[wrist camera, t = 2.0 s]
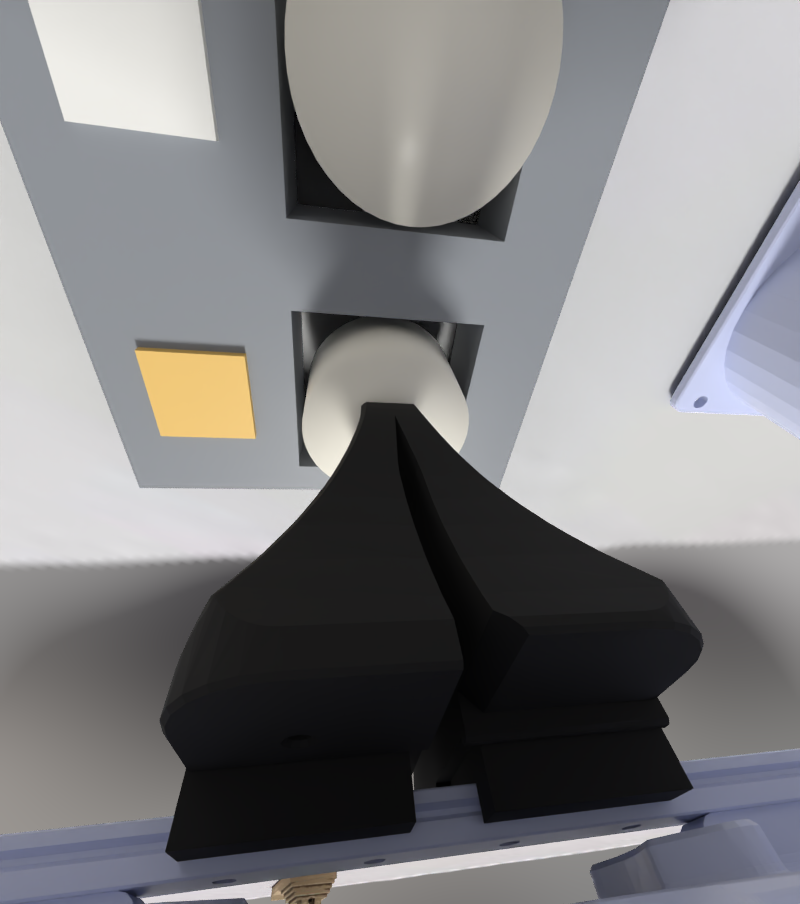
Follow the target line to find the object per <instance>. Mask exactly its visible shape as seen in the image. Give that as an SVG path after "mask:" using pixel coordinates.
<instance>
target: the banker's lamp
mask: <svg viewBox="0 0 800 904" xmlns="http://www.w3.org/2000/svg"><path fill="white" fill-rule="evenodd" d="M336 878H337V872H330V873H323V874H316V875H308V876H301V877H294V878H286V879H281V880H280V881H279V882H278V883H277V884H276V885H275V886H274V887H273V888H272V895H271V901H274V900H283V899H286V903H289V904H321V900H323V899H324V898H326V897H327V894H328V893H329V892H330V888H332V884H333V883H334V879H336Z"/></svg>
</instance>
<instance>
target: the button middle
mask: <svg viewBox="0 0 800 904" xmlns="http://www.w3.org/2000/svg"><path fill="white" fill-rule="evenodd" d="M562 46H563V6H562V0H287V3H286V13H285V56H286V67H287V75H288V80H289V86H290V91H291V96H292V100H293V104H294V107H295V110H296V114H297V117H298V121H299V123H300V126H301V128H302V131H303V133H304V135H305V138H306V140H307V143H308V144H309V146H310V148H311V150H312V152H313V154H314V156H315V158H316V160H317V161H318V163H319V164H320V166H321V167H322V168H323V170H324V171H325V173H326V174H327V176H328V177H329V178H330V179H331V181H332V182H333V183H334V184H335V185H336V186H337V188H338V189H339V190H340V191H341V192H342V193H343V194H344V195H345V196H347V197H348V198H349V199H350V200H351V201H352V202H353V203H355V204H356V205H357V206H359V207H360V208H362V209H363V210H365V211H366V212H368V213H370V214H372V215H374V216H376V217H378V218H379V219H382V220H385V221H388V222H391V223H393V224H398V225H403V226H408V227H431V226H439V225H443V224H447V223H450V222H454V221H456V220H459V219H461V218H463V217H466V216H468V215H470V214H471V213H473V212H475V211H476V210H478V209H480V208H481V207H483V206H484V205H485V204H487V203H488V202H489V201H490V200H492V199H493V198H494V197H495V196H497V195H498V194H499V193H500V192H501V191H502V190H503V189H504V188H505V187H506V186H507V185H508V183H509V182H510V181H511V180H512V179H513V177H514V176H515V175H516V174H517V172H518V171H519V170H520V168H521V167H522V165H523V164H524V162H525V161H526V159H527V158H528V156H529V155H530V153H531V151H532V149H533V147H534V145H535V143H536V141H537V140H538V138H539V136H540V133H541V131H542V129H543V126H544V124H545V121H546V119H547V116H548V114H549V110H550V107H551V104H552V100H553V97H554V94H555V90H556V85H557V80H558V75H559V70H560V63H561V54H562Z"/></svg>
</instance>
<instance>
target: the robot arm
mask: <svg viewBox="0 0 800 904" xmlns="http://www.w3.org/2000/svg"><path fill="white" fill-rule="evenodd" d="M697 399H698V400H697ZM670 404H671V406H672V407H673V408H675V409H676V410H677V411H679V412H692V413H714V414H737V415H760V416H765V417H766V418H768V419H769V420H771V421H772V422H774V423H775V424H777V425H778V426H780V427H781V428H783V429H784V430H786V431H787V432H789V433H790V434H792V435H794V436H795V437H797V438H798V439H800V181H799V182H798V184H797V186H796V187H795V189H794V191H793V192H792V194H791V196H790V198H789V199H788V201H787V203H786V204H785V206H784V208H783V209H782V211H781V213H780V214H779V216H778V218H777V220H776V221H775V223H774V225H773V226H772V228H771V230H770V231H769V233H768V235H767V236H766V238H765V240H764V242H763V243H762V245H761V247H760V248H759V250H758V252H757V253H756V255H755V257H754V258H753V260H752V262H751V264H750V265H749V267H748V269H747V270H746V272H745V274H744V275H743V277H742V279H741V280H740V282H739V284H738V285H737V287H736V289H735V291H734V292H733V294H732V296H731V297H730V299H729V301H728V302H727V304H726V306H725V307H724V309H723V311H722V313H721V314H720V316H719V318H718V319H717V321H716V323H715V324H714V326H713V328H712V329H711V331H710V333H709V335H708V336H707V338H706V340H705V341H704V343H703V345H702V346H701V348H700V350H699V351H698V353H697V355H696V357H695V358H694V360H693V362H692V363H691V365H690V367H689V368H688V370H687V372H686V373H685V375H684V377H683V378H682V380H681V382H680V384H679V385H678V387H677V389H676V390H675V392H674V394H673V395H672V397H671V400H670ZM702 647H703V639H702V635H701V633H700V631H699V630H698V629H697V627H696V626H695V624H694V623H693V622H692V620H691V619H690V618H689V616H688V615H687V613H686V612H685V611H684V609H683V608H682V606H681V605H680V604H679V602H678V601H677V600H676V598H675V597H674V595H673V594H672V593H671V591H670V590H669V588H668V587H667V586H666V584H665V583H664V582H663V581H662V580H660V579H658V578H656V577H654V576H652V575H650V574H647V573H645V572H643V571H641V570H639V569H637V568H635V567H632V566H630V565H628V564H626V563H624V562H622V561H619V560H617V559H615V558H613V557H611V556H609V555H606V554H604V553H602V552H600V551H598V550H596V549H595V548H593V547H591V546H589V545H587V544H585V543H583V542H582V541H580V540H578V539H576V538H574V537H572V536H571V535H569V534H567V533H565V532H563V531H562V530H560V529H558V528H557V527H555V526H553V525H551V524H550V523H548V522H547V521H545V520H543V519H542V518H540V517H539V516H537V515H536V514H534V513H533V512H531V511H530V510H528V509H526V508H525V507H523V506H522V505H520V504H519V503H518V502H516V501H515V500H513V499H512V498H510V497H509V496H508V495H506V494H505V493H504V492H503V491H501V490H500V489H499V488H497V487H496V486H495V485H494V484H492V483H491V482H490V481H488V480H487V479H486V478H485V477H484V476H482V475H481V474H480V473H479V472H478V471H477V470H476V469H474V468H473V467H472V466H471V465H470V464H469V463H468V462H467V461H466V460H465V459H464V458H463V457H461V456H460V455H459V454H458V453H457V452H456V451H455V450H454V449H453V448H452V446H451V445H450V444H449V443H448V442H447V441H446V440H445V439H444V438H443V437H442V436H441V435H440V434H439V433H438V431H437V430H436V429H435V428H434V427H433V426H432V425H431V423H430V422H429V421H428V420H427V419H426V418H425V416H424V415H423V414H422V413H421V412H420V411H419V409H418V408H417V407H416V406H415V405H414V404H404V403H380V402H365V403H364V404H363V405H361V415H360V419H359V422H358V425H357V428H356V431H355V433H354V435H353V437H352V440H351V442H350V444H349V446H348V448H347V450H346V452H345V454H344V456H343V457H342V459H341V461H340V463H339V464H338V466H337V468H336V469H335V471H334V472H333V474H332V476H331V477H330V479H329V480H328V481H327V483H326V484H325V486H324V487H323V488H322V490H321V491H320V492H319V494H318V495H317V496H316V498H315V499H314V500H313V501H312V502H311V504H310V505H309V506H308V507H307V508H306V510H305V511H304V512H303V513H302V514H301V515H300V517H299V518H298V519H297V520H296V521H295V522H294V523H293V524H292V525H291V526H290V527H289V528H288V529H287V530H286V531H285V532H284V533H283V534H282V535H281V536H280V537H279V538H278V539H277V540H276V541H275V542H274V543H273V544H272V545H271V546H270V547H269V548H268V549H267V550H266V551H265V552H264V553H262V554H261V555H260V556H259V557H258V558H257V559H256V560H255V561H253V562H252V563H251V564H250V565H249V566H247V567H246V568H245V569H244V570H242V571H241V572H240V573H239V574H237V575H236V576H235V577H234V578H233V579H231V580H230V581H229V582H228V583H226V584H225V585H224V586H223V587H222V588H220V589H219V590H218V591H217V592H215V593H214V594H213V595H212V596H211V597H210V599H209V601H208V602H207V604H206V606H205V608H204V610H203V611H202V613H201V615H200V617H199V619H198V621H197V622H196V624H195V627H194V628H193V630H192V632H191V635H190V637H189V639H188V641H187V643H186V645H185V648H184V650H183V652H182V654H181V656H180V659H179V662H178V664H177V667H176V670H175V673H174V676H173V679H172V682H171V686H170V689H169V692H168V695H167V698H166V701H165V705H164V708H163V711H162V714H161V718H160V724H161V728H162V731H163V734H164V735H165V737H166V738H167V740H168V741H169V743H170V744H171V746H172V747H173V749H174V750H175V752H176V753H177V755H178V756H179V758H180V759H181V761H182V762H183V764H184V765H185V767H186V771H185V776H184V779H183V783H182V787H181V791H180V795H179V799H178V803H177V806H176V811H175V815H174V816H168V817H160V818H151V819H141V820H131V821H122V822H114V823H103V824H95V825H85V826H76V827H67V828H58V829H48V830H38V831H30V832H20V833H11V834H1V835H0V904H145V903H144V902H143V901H142V900H141V899H140V898H146V897H153V896H161V895H168V894H175V893H183V892H190V891H198V890H205V889H212V888H220V887H227V886H234V885H242V884H249V883H257V882H264V881H271V880H279V879H286V878H294V877H301V876H308V875H316V874H323V873H330V872H338V871H345V870H353V869H360V868H367V867H375V866H382V865H390V864H397V863H404V862H412V861H419V860H427V859H434V858H441V857H449V856H456V855H463V854H471V853H478V852H486V851H493V850H500V849H508V848H515V847H523V846H530V845H537V844H545V843H552V842H560V841H567V840H574V839H582V838H589V837H596V836H604V835H611V834H619V833H626V832H633V831H641V830H648V829H656V828H663V827H670V826H678V825H683V826H682V829H681V832H680V833H676V834H671V835H667V836H663V837H658V838H654V839H650V840H647V841H645V842H644V843H642V844H641V845H640V846H638V847H637V848H636V849H633V850H631V851H629V852H627V853H625V854H622V855H620V856H618V857H615V858H612V859H609V860H606V861H603V862H600V863H597V864H594V865H592V867H591V870H590V873H591V877H592V880H593V883H594V885H595V889H596V892H597V895H598V898H599V899H597V900H592V901H585V902H579V903H573V904H800V748H799V749H789V750H780V751H771V752H762V753H752V754H743V755H734V756H725V757H715V758H706V759H696V760H687V761H679V760H678V758H677V756H676V754H675V753H674V751H673V749H672V747H671V745H670V743H669V741H668V740H667V738H666V736H665V734H664V732H663V730H662V728H665V727H666V726H668V725H669V717H668V715H667V714H666V712H665V710H664V708H663V707H662V705H661V703H660V701H659V699H658V698H657V697H658V696H659V695H660V694H661V693H662V692H664V691H665V690H666V689H667V688H668V687H669V686H671V685H672V684H673V683H674V682H675V681H676V680H678V679H679V678H680V677H681V676H682V675H683V674H684V673H686V672H687V671H688V670H689V669H690V668H691V666H693V665H694V663H695V662H696V661H697V660H698V658H699V656H700V653H701V651H702ZM412 773H414V790H413V784H412ZM150 904H248V903H247V902H246V900H245V898H237V899H218V900H199V901H180V902H161V903H150Z"/></svg>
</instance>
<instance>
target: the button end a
mask: <svg viewBox="0 0 800 904" xmlns="http://www.w3.org/2000/svg"><path fill="white" fill-rule="evenodd" d="M365 402H380V403H404V404H414V405H415V406H416V407H417V408H418V409H419V411H420V412H421V413H422V414H423V415H424V416H425V418H426V419H427V420H428V421H429V422H430V423H431V425H432V426H433V427H434V428H435V429H436V430H437V431H438V433H439V434H440V435H441V436H442V437H443V438H444V439H445V440H446V441H447V442H448V443H449V444H450V445H451V446H452V448H453V449H454V450H455V451H456V452H457V453H459V452H460V450H461V448H462V446H463V444H464V442H465V439H466V436H467V432H468V426H469V413H468V407H467V403H466V400H465V397H464V395H463V393H462V391H461V389H460V386H459V384H458V382H457V380H456V378H455V376H454V373H453V371H452V369H451V367H450V365H449V363H448V360H447V358H446V356H445V354H444V352H443V350H442V348H441V346H440V345H439V343H438V342H437V341H436V339H435V338H434V337H433V336H432V335H431V334H430V333H429V332H427V331H426V330H425V329H424V328H422V327H421V326H419V325H417V324H416V323H414V322H411V321H409V320H407V319H395V318H382V317H368V316H366V317H362V318H358V319H355V320H353V321H350V322H348V323H346V324H344V325H342V326H341V327H339V328H338V329H336V330H335V331H334V332H332V333H331V334H330V335H329V336H328V337H327V338H326V339H325V340H324V341H323V343H322V344H321V345H320V347H319V348H318V350H317V352H316V354H315V356H314V358H313V361H312V364H311V369H310V374H309V380H308V387H307V393H306V399H305V405H304V412H303V418H302V434H303V440H304V443H305V446H306V449H307V451H308V453H309V455H310V457H311V458H312V460H313V461H314V463H315V464H316V465H317V466H318V467H319V468H320V469H321V470H322V471H323V472H324V473H325V474H327V475H328V476H329V477H331V476H332V474H333V472H334V471H335V469H336V468H337V466H338V464H339V463H340V461H341V459H342V457H343V456H344V454H345V452H346V450H347V448H348V446H349V444H350V442H351V440H352V437H353V435H354V433H355V431H356V428H357V425H358V422H359V419H360V415H361V405H363V404H364V403H365Z"/></svg>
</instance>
